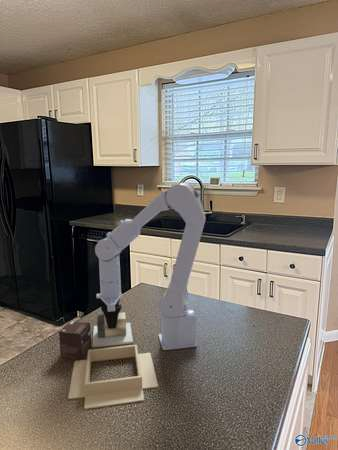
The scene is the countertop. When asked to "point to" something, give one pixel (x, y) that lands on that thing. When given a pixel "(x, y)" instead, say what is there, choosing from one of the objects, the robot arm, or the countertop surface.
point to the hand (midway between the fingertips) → (112, 323)
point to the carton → (114, 388)
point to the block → (106, 332)
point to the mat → (112, 338)
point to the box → (75, 340)
